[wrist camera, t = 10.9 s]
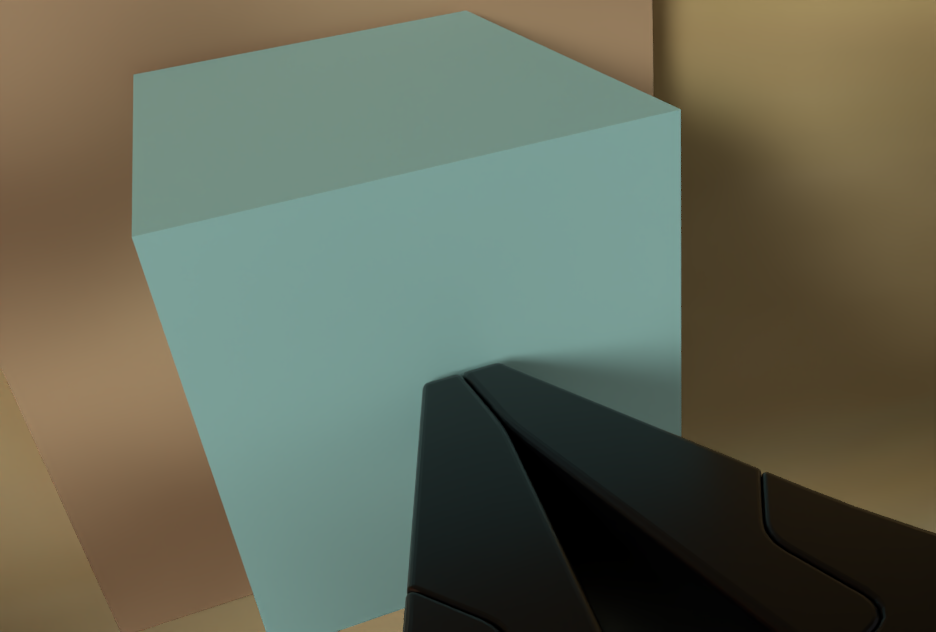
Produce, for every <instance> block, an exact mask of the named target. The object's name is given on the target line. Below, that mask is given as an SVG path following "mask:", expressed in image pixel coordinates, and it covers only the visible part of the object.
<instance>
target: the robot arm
mask: <svg viewBox="0 0 936 632" xmlns="http://www.w3.org/2000/svg"><path fill="white" fill-rule="evenodd" d="M403 632H936V533H933V532H930V531H927V530H923V529H920V528H917V527H914V526H911V525H908V524H905V523H903V522H900V521H897V520H894V519H891V518H888V517H885V516H882V515H879V514H876V513H873V512H870V511H867V510H864V509H861V508H858V507H855V506H853V505H850V504H847V503H845V502H842V501H840V500H837V499H834V498H832V497H829V496H827V495H824V494H821V493H819V492H816V491H814V490H811V489H808V488H806V487H803V486H801V485H798V484H796V483H793V482H791V481H788V480H786V479H783V478H781V477H779V476H776V475H774V474H771V473H769V472H765V473H763V474H762V477H761V471H760V470H759V469H758V468H756V467H753V466H751V465H748V464H746V463H744V462H741V461H739V460H736V459H734V458H731V457H729V456H726V455H724V454H722V453H719V452H717V451H714V450H712V449H709V448H707V447H704V446H702V445H700V444H697V443H695V442H692V441H690V440H687V439H685V438H682V437H680V436H678V435H675V434H673V433H670V432H668V431H665V430H663V429H660V428H658V427H656V426H653V425H651V424H648V423H646V422H643V421H641V420H638V419H636V418H634V417H631V416H629V415H626V414H624V413H621V412H619V411H616V410H614V409H612V408H609V407H607V406H604V405H602V404H599V403H597V402H594V401H592V400H589V399H587V398H585V397H582V396H580V395H577V394H575V393H572V392H570V391H567V390H565V389H563V388H560V387H558V386H555V385H553V384H550V383H548V382H545V381H543V380H541V379H538V378H536V377H533V376H531V375H528V374H526V373H523V372H521V371H519V370H516V369H514V368H511V367H509V366H506V365H504V364H500V363H494V364H490V365H487V366H483V367H480V368H477V369H473V370H470V371H467V372H465V374H464V375H463V377H462V376H460V375H452V376H449V377H445V378H441V379H438V380H434V381H431V382H428V383H426V384H425V385H424V386H423V390H422V402H421V415H420V428H419V441H418V453H417V466H416V479H415V492H414V505H413V517H412V530H411V543H410V556H409V569H408V581H407V596H406V600H405V612H404V625H403Z"/></svg>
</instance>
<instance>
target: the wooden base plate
mask: <svg viewBox="0 0 936 632" xmlns="http://www.w3.org/2000/svg"><path fill="white" fill-rule="evenodd" d="M461 11H469V12H471V13H473V14H475V15H477V16H479V17H482V18H484V19H486V20H488V21H490V22H492V23H495V24H497V25H499V26H501V27H503V28H505V29H508V30H510V31H512V32H514V33H516V34H518V35H521V36H523V37H525V38H527V39H529V40H531V41H534V42H536V43H538V44H540V45H542V46H544V47H547V48H549V49H551V50H553V51H555V52H557V53H560V54H562V55H564V56H566V57H568V58H570V59H573V60H575V61H577V62H579V63H581V64H583V65H586V66H588V67H590V68H592V69H594V70H596V71H599V72H601V73H603V74H605V75H607V76H609V77H612V78H614V79H616V80H618V81H620V82H622V83H625V84H627V85H629V86H631V87H633V88H636V89H638V90H640V91H642V92H644V93H646V94H649V95H651V96H653V97H654V89H653V14H652V0H0V367H1V369H2V371H3V374H4V376H5V378H6V380H7V383H8V385H9V387H10V389H11V391H12V394H13V396H14V398H15V400H16V402H17V405H18V407H19V409H20V411H21V413H22V416H23V418H24V420H25V422H26V424H27V427H28V429H29V431H30V433H31V435H32V438H33V440H34V442H35V444H36V446H37V449H38V451H39V453H40V455H41V458H42V460H43V462H44V464H45V466H46V469H47V471H48V473H49V475H50V477H51V480H52V482H53V484H54V486H55V488H56V491H57V493H58V495H59V497H60V499H61V502H62V504H63V506H64V508H65V510H66V513H67V515H68V517H69V519H70V521H71V524H72V526H73V528H74V530H75V533H76V535H77V537H78V539H79V541H80V544H81V546H82V548H83V550H84V552H85V555H86V557H87V559H88V561H89V563H90V566H91V568H92V570H93V572H94V574H95V577H96V579H97V581H98V583H99V585H100V588H101V590H102V592H103V594H104V596H105V599H106V601H107V603H108V605H109V608H110V610H111V612H112V614H113V616H114V619H115V621H116V623H117V625H118V627H119V630H120V632H138V631H141V630H144V629H147V628H150V627H154V626H157V625H160V624H163V623H166V622H169V621H172V620H175V619H178V618H181V617H184V616H187V615H190V614H193V613H196V612H200V611H203V610H206V609H209V608H212V607H215V606H218V605H221V604H224V603H227V602H230V601H233V600H236V599H239V598H242V597H246V596H249V595H252V594H253V591H252V588H251V586H250V583H249V580H248V577H247V574H246V571H245V568H244V565H243V562H242V559H241V556H240V553H239V550H238V547H237V544H236V542H235V539H234V536H233V533H232V530H231V527H230V524H229V521H228V518H227V515H226V512H225V509H224V506H223V503H222V500H221V498H220V495H219V492H218V489H217V486H216V483H215V480H214V477H213V474H212V471H211V468H210V465H209V462H208V459H207V456H206V454H205V451H204V448H203V445H202V442H201V439H200V436H199V433H198V430H197V427H196V424H195V421H194V418H193V415H192V412H191V410H190V407H189V404H188V401H187V398H186V395H185V392H184V389H183V386H182V383H181V380H180V377H179V374H178V371H177V368H176V366H175V363H174V360H173V357H172V354H171V351H170V348H169V345H168V342H167V339H166V336H165V333H164V330H163V327H162V324H161V322H160V319H159V316H158V313H157V310H156V307H155V304H154V301H153V298H152V295H151V292H150V289H149V286H148V283H147V280H146V278H145V275H144V272H143V269H142V266H141V263H140V260H139V257H138V254H137V251H136V248H135V245H134V242H133V239H132V161H133V75H134V74H139V73H144V72H150V71H155V70H160V69H165V68H170V67H175V66H181V65H186V64H191V63H196V62H201V61H207V60H212V59H217V58H222V57H227V56H233V55H238V54H243V53H248V52H253V51H258V50H264V49H269V48H274V47H279V46H284V45H290V44H295V43H300V42H305V41H310V40H315V39H321V38H326V37H331V36H336V35H341V34H347V33H352V32H357V31H362V30H367V29H373V28H378V27H383V26H388V25H393V24H398V23H404V22H409V21H414V20H419V19H424V18H430V17H435V16H440V15H445V14H450V13H456V12H461Z"/></svg>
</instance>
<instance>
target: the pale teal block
mask: <svg viewBox="0 0 936 632" xmlns="http://www.w3.org/2000/svg"><path fill="white" fill-rule="evenodd" d="M132 239H133V242H134V245H135V248H136V251H137V254H138V257H139V260H140V263H141V266H142V269H143V272H144V275H145V278H146V280H147V283H148V286H149V289H150V292H151V295H152V298H153V301H154V304H155V307H156V310H157V313H158V316H159V319H160V322H161V324H162V327H163V330H164V333H165V336H166V339H167V342H168V345H169V348H170V351H171V354H172V357H173V360H174V363H175V366H176V368H177V371H178V374H179V377H180V380H181V383H182V386H183V389H184V392H185V395H186V398H187V401H188V404H189V407H190V410H191V412H192V415H193V418H194V421H195V424H196V427H197V430H198V433H199V436H200V439H201V442H202V445H203V448H204V451H205V454H206V456H207V459H208V462H209V465H210V468H211V471H212V474H213V477H214V480H215V483H216V486H217V489H218V492H219V495H220V498H221V500H222V503H223V506H224V509H225V512H226V515H227V518H228V521H229V524H230V527H231V530H232V533H233V536H234V539H235V542H236V544H237V547H238V550H239V553H240V556H241V559H242V562H243V565H244V568H245V571H246V574H247V577H248V580H249V583H250V586H251V588H252V591H253V594H254V597H255V600H256V603H257V606H258V609H259V612H260V615H261V618H262V621H263V624H264V627H265V630H266V632H337V631H340V630H342V629H345V628H348V627H351V626H354V625H357V624H360V623H363V622H366V621H368V620H371V619H374V618H377V617H380V616H383V615H386V614H389V613H392V612H394V611H397V610H400V609H403V608H405V600H406V596H407V581H408V569H409V556H410V543H411V530H412V517H413V505H414V492H415V479H416V466H417V453H418V441H419V428H420V415H421V402H422V390H423V386H424V385H425V384H426V383H428V382H431V381H434V380H438V379H441V378H445V377H449V376H452V375H460V376H462V377H463V375H464V374H465V372H467V371H470V370H473V369H477V368H480V367H483V366H487V365H490V364H494V363H500V364H504V365H506V366H509V367H511V368H514V369H516V370H519V371H521V372H523V373H526V374H528V375H531V376H533V377H536V378H538V379H541V380H543V381H545V382H548V383H550V384H553V385H555V386H558V387H560V388H563V389H565V390H567V391H570V392H572V393H575V394H577V395H580V396H582V397H585V398H587V399H589V400H592V401H594V402H597V403H599V404H602V405H604V406H607V407H609V408H612V409H614V410H616V411H619V412H621V413H624V414H626V415H629V416H631V417H634V418H636V419H638V420H641V421H643V422H646V423H648V424H651V425H653V426H656V427H658V428H660V429H663V430H665V431H668V432H670V433H673V434H675V435H678V436H680V437H681V109H679V108H677V107H675V106H672V105H670V104H668V103H666V102H664V101H662V100H659V99H657V98H655V97H653V96H651V95H649V94H646V93H644V92H642V91H640V90H638V89H636V88H633V87H631V86H629V85H627V84H625V83H622V82H620V81H618V80H616V79H614V78H612V77H609V76H607V75H605V74H603V73H601V72H599V71H596V70H594V69H592V68H590V67H588V66H586V65H583V64H581V63H579V62H577V61H575V60H573V59H570V58H568V57H566V56H564V55H562V54H560V53H557V52H555V51H553V50H551V49H549V48H547V47H544V46H542V45H540V44H538V43H536V42H534V41H531V40H529V39H527V38H525V37H523V36H521V35H518V34H516V33H514V32H512V31H510V30H508V29H505V28H503V27H501V26H499V25H497V24H495V23H492V22H490V21H488V20H486V19H484V18H482V17H479V16H477V15H475V14H473V13H471V12H469V11H461V12H456V13H450V14H445V15H440V16H435V17H430V18H424V19H419V20H414V21H409V22H404V23H398V24H393V25H388V26H383V27H378V28H373V29H367V30H362V31H357V32H352V33H347V34H341V35H336V36H331V37H326V38H321V39H315V40H310V41H305V42H300V43H295V44H290V45H284V46H279V47H274V48H269V49H264V50H258V51H253V52H248V53H243V54H238V55H233V56H227V57H222V58H217V59H212V60H207V61H201V62H196V63H191V64H186V65H181V66H175V67H170V68H165V69H160V70H155V71H150V72H144V73H139V74H134V75H133V161H132Z"/></svg>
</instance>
